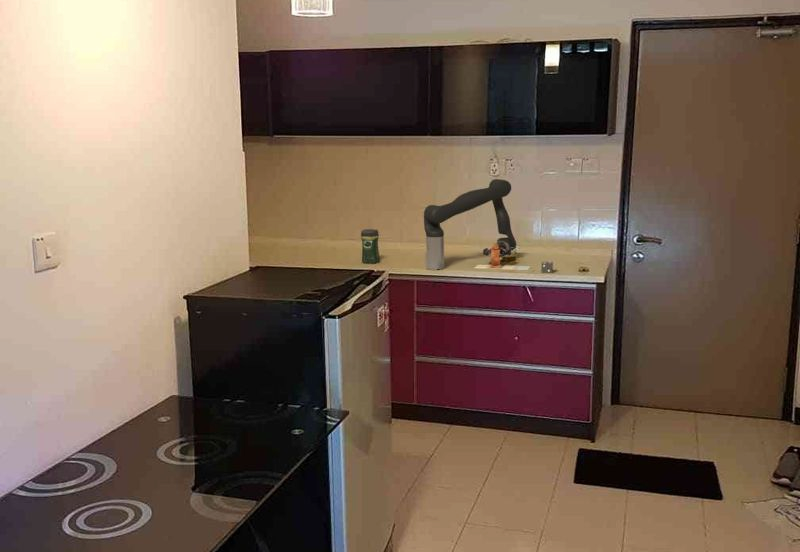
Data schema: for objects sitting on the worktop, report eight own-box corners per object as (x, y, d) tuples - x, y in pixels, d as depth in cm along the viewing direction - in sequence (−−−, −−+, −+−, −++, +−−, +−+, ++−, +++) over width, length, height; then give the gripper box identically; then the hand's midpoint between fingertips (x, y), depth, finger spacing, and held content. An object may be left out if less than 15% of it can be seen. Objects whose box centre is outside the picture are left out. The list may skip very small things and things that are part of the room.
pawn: (488, 267, 392) (488, 244, 390) (490, 265, 398) (490, 242, 395) (500, 268, 390) (500, 244, 388) (502, 266, 396) (502, 242, 393)
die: (541, 273, 384) (541, 263, 383) (542, 271, 388) (542, 261, 387) (551, 273, 382) (551, 263, 381) (552, 271, 387) (552, 261, 386)
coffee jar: (381, 261, 426) (380, 228, 422) (376, 264, 419) (375, 230, 415) (365, 260, 429) (364, 228, 426) (360, 263, 422) (358, 230, 418)
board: (472, 271, 392) (472, 268, 392) (477, 266, 403) (477, 264, 403) (528, 273, 383) (528, 270, 383) (532, 268, 394) (532, 265, 394)
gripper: (487, 241, 407) (481, 246, 392) (514, 242, 403) (508, 247, 388) (487, 255, 409) (481, 261, 394) (514, 256, 405) (508, 261, 390)
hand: (494, 254), depth 391 cm, fingers open, 8 cm apart
